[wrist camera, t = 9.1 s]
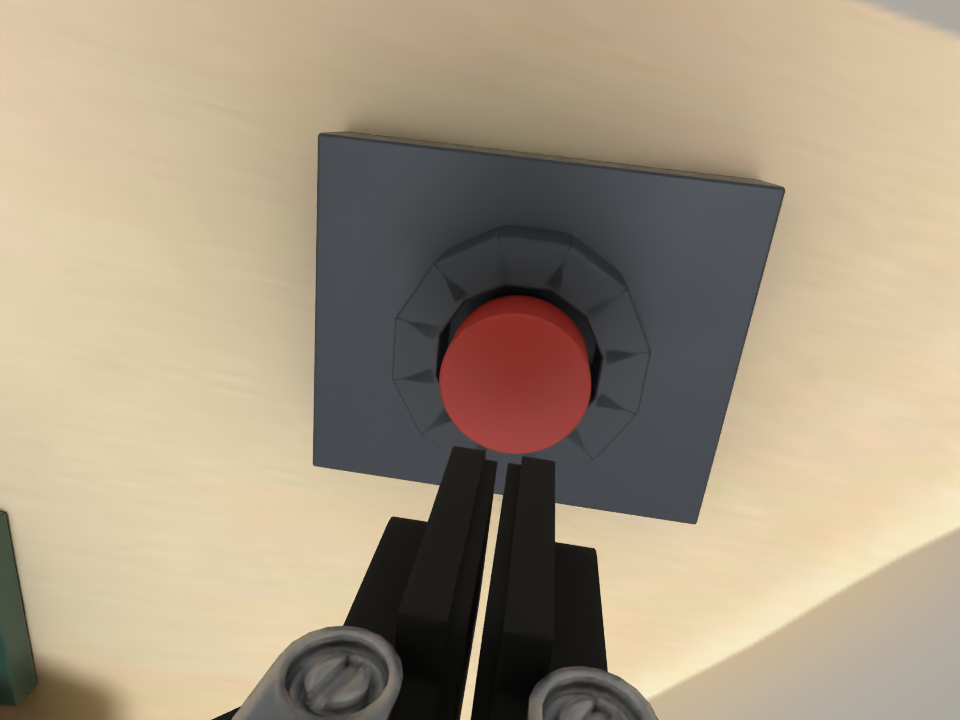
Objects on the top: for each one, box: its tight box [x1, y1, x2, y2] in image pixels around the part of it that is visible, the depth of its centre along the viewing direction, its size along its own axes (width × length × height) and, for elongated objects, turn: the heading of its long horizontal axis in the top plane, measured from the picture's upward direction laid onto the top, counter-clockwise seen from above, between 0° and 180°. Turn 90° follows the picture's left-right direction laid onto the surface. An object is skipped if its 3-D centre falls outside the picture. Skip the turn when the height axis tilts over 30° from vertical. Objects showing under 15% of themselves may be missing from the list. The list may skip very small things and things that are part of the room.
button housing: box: [313, 132, 785, 524], centre depth 18 cm, size 10×12×4 cm
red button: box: [439, 295, 591, 454], centre depth 16 cm, size 4×4×2 cm
